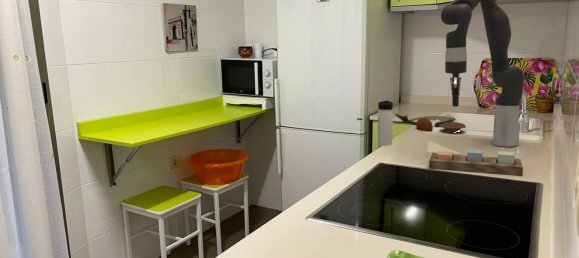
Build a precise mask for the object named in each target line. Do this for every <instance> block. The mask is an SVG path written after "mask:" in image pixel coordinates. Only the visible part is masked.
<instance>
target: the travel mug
mask: <svg viewBox="0 0 579 258" xmlns="http://www.w3.org/2000/svg"><path fill="white" fill-rule="evenodd" d="M377 106H378V107H377V109H378V110H377V145H379V146H383V147H384V146H385V147H387V146H388V147H389V146H392V145H393V121H394V118H393V117H394V116H393V115H394V114H393V113H394V112H393V110H394V108H393V106H394V105H393V102H392V101H389V100H384V101H379V102H378V104H377Z"/></svg>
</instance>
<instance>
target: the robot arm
mask: <svg viewBox="0 0 579 258" xmlns="http://www.w3.org/2000/svg"><path fill="white" fill-rule="evenodd" d="M479 4H480V7H481V11H482V17H483V21H484V28H485V34H486V38H487V44H488V47H489V54H490V61H491V62H490V63H491V73H492V80H493V82H494V85H495V86H497V87H498V88H500V89H501V94H500V95H499V96H497V97H495V102H494V119H493V120H494V121H493V134H492V144H493V145H494V146H498V147H516V146H520V145H519V144H520V143H519V142H520V131H521V130H520V128H521V122H519V113H520V112H519V111H520V102H521V99H522V97H523V91H524V83H525V74H524V72H523V69H521V68H520V67H517V66H510V61H509V57H508V56H509V55H508V51H509V50H508V49H509V47H510V46H509V45H510V44H511V43H510V42H511V38H512V28H511V24H510V18H509V16H508V14H507V13H506V12H505V10H504V9H502V8H501V7H500V6H499V5H498V4H497V3H496V2H495V0H453V1H450V2H449V3H447V4H446V5H444V7H443V9H442V10H441V13H440V20H441V22H442V23H443V24H444V25H449V26H452V25H453V26H455V25H457V27H456V28H455V30H452V31H448V32H447V33H446V36H445V53H444V56H445V57H444V58H445V59H444V61H445V62H444V64H445V65H444V71H445V74H450V75H452V77H449V84H450V91H451V97H452V101H451V103H452V104H451V105H452V107H459V105H460V104H459V103H460V102H459V101H460V100H459V99H460V91H461V83H462V77H460V74H465V73H467V68H468V67H467V66H468V65H467V64H468V55H467V54H468V52H467V34H468V30H469V27H470V23H471V20H472V18H473V17H472V16H473V11H474V9H475V8H476V7H478V5H479Z"/></svg>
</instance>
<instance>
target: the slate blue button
mask: <svg viewBox="0 0 579 258" xmlns="http://www.w3.org/2000/svg"><path fill="white" fill-rule="evenodd" d="M483 151H484V150H483V149H482V150H481V149H467V151H466V152H467V153H466V155H467V161H473V162H482V157H483V155H484V153H483Z"/></svg>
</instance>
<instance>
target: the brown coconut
mask: <svg viewBox="0 0 579 258" xmlns="http://www.w3.org/2000/svg"><path fill="white" fill-rule="evenodd" d="M439 127H440V128H442V129H444V128H445V130H444V132H445V133H446V134H447V133H449V134H455V133H454V132H456V131H458V130H461V129H465V128H467V126H466V125H465V123H461V122H458V121H457V122H456V121H455V122H454V121H453V122H446V123H442V124H441V125H440V126H439Z"/></svg>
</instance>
